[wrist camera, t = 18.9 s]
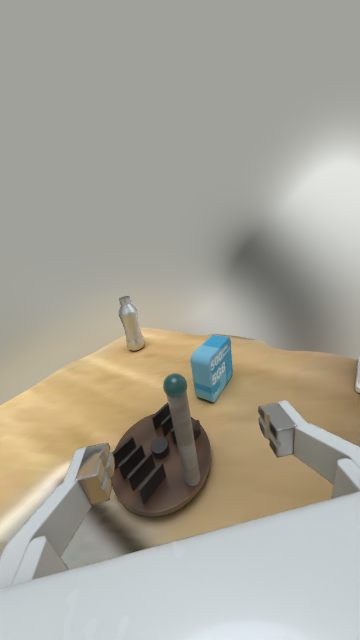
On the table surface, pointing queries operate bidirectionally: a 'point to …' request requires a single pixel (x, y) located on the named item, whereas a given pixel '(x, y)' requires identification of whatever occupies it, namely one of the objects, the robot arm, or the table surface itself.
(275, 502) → the table surface
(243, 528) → the robot arm
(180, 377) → the ball-top lever
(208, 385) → the data package
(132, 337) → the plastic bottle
